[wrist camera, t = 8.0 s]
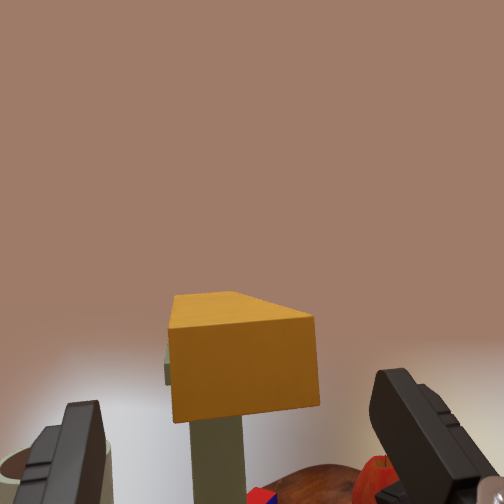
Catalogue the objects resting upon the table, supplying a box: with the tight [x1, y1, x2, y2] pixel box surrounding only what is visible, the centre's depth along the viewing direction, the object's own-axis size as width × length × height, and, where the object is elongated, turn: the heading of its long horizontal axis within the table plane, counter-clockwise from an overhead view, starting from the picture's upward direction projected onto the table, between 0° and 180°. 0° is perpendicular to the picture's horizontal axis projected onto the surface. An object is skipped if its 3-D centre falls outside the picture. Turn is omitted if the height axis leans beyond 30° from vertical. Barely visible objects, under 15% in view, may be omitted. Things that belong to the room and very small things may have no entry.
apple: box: [352, 455, 400, 504], centre depth 51 cm, size 8×8×11 cm
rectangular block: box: [168, 291, 320, 424], centre depth 20 cm, size 4×18×2 cm, turn 10°
